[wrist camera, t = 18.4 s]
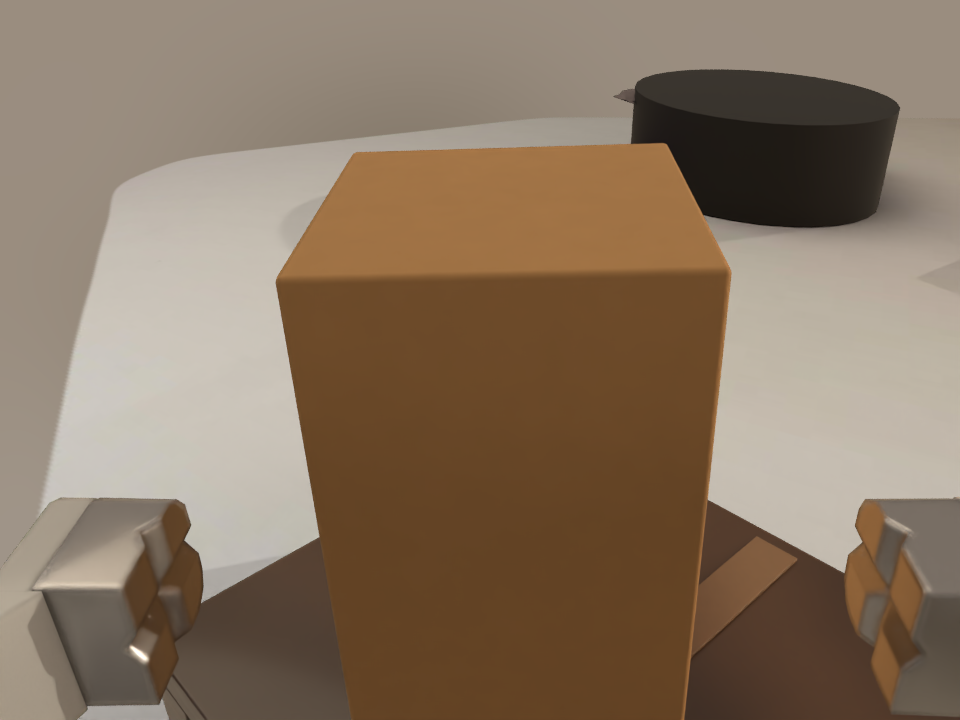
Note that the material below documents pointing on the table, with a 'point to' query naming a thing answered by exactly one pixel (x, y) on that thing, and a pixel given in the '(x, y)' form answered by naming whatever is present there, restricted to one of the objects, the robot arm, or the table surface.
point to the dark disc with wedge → (770, 143)
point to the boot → (510, 427)
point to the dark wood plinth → (714, 656)
